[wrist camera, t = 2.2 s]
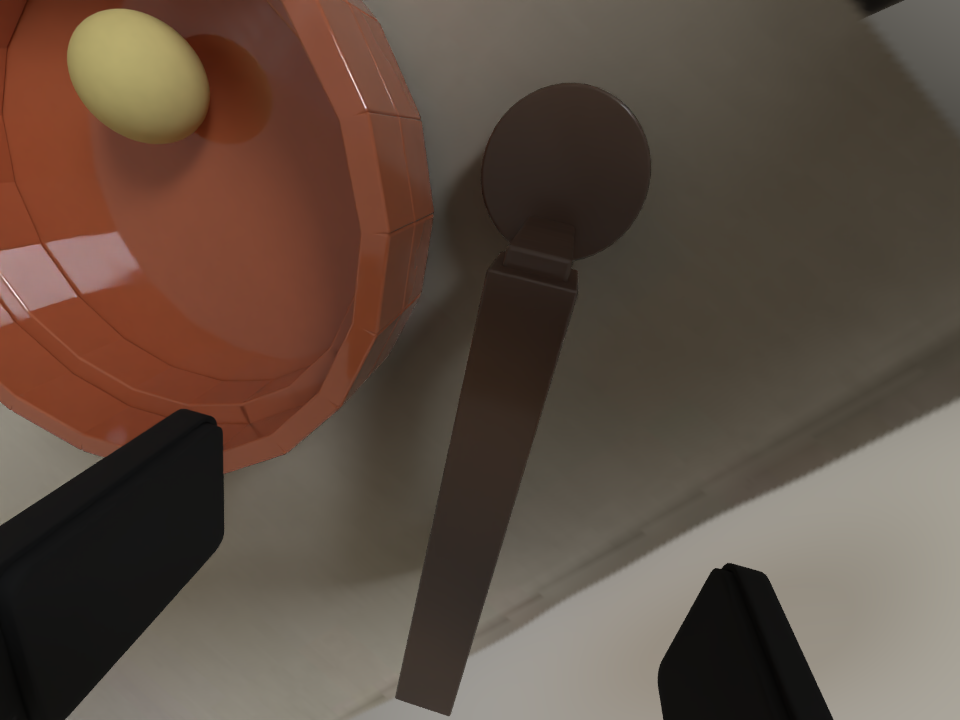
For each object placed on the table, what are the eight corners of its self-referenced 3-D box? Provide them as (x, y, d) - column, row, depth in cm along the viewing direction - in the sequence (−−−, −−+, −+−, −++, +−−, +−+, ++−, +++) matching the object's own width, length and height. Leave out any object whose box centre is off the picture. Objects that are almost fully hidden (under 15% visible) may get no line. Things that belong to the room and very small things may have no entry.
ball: (233, 35, 13) (144, 8, 11) (235, 154, 15) (156, 156, 12) (132, 13, 14) (20, -20, 11) (141, 131, 15) (43, 129, 12)
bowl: (484, -63, 12) (439, -160, 8) (399, 454, 18) (352, 534, 15) (-76, -172, 13) (-342, -300, 9) (30, 347, 20) (-100, 396, 16)
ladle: (511, 76, 13) (455, 20, 7) (663, 109, 13) (735, 79, 7) (419, 530, 20) (353, 690, 14) (517, 559, 19) (490, 735, 14)
